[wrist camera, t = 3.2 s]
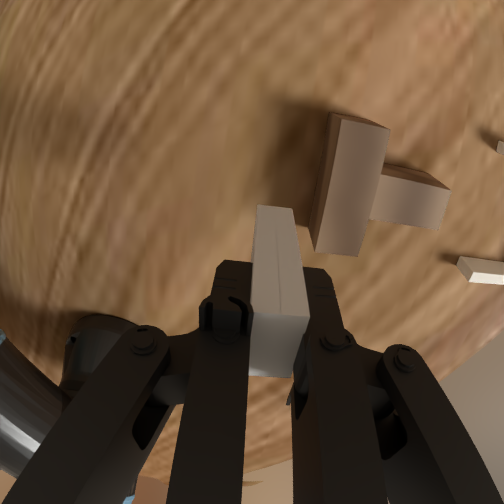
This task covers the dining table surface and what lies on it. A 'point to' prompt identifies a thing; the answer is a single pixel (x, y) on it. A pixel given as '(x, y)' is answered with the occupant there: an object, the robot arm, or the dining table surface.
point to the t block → (367, 188)
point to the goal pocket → (483, 261)
